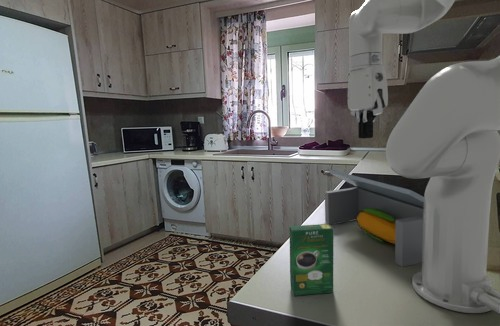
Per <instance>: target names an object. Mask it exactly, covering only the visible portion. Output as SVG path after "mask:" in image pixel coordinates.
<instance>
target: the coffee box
mask: <svg viewBox="0 0 500 326" xmlns="http://www.w3.org/2000/svg"><path fill="white" fill-rule="evenodd" d="M334 232H335V231H334V228H333V226H332V225H331V224H327V223H322V224H321V223H320V224H319V223H318V224H307V225H306V224H305V225H304V224H303V225H289V275H290V276H289V278H290V279H289V281H290V290H291V293H292V295H293V297H295V296H305V295H320V294H323V295H324V294H329V293H330V294H331V293H334Z"/></svg>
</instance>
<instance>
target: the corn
mask: <svg viewBox="0 0 500 326" xmlns="http://www.w3.org/2000/svg"><path fill="white" fill-rule="evenodd" d="M356 222H357V225H358V226H359V228H360V229H361V230H362V231H363V232H364V233H366V234H367V235H368V236H370V237H371V238H374V239H375V240H377V241H380V242H382V243H384V242H385V244H387V242H388V243H390V244H393V245H395V228H396V220H395V219H394V218H393V217H392V216H391V215H389V214H387V213H386V212H384V211H381V210H378V209H374V208H365V209H364V210H362V211H360V212H359V215H358V216H357V220H356Z"/></svg>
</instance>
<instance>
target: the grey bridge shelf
mask: <svg viewBox="0 0 500 326" xmlns="http://www.w3.org/2000/svg"><path fill="white" fill-rule="evenodd" d="M365 208H374V209H378V210H381V211H384V212H386V213H387V214H389V215H391V216H392V217H393V218H394V219H395V220H396V228H395V244H394V245H395V246H394V248H395V250H394V255H395V256H394V263H395V264H396V265H398V266H399V267H401V268H404V267H409V266H412V265H417V264H420V263H421V264H422V247H423V207H421V206H417V205H414V204H411V203H408V202H404V201H401V200H398V199H395V198H391V197H388V196H385V195H382V194H378V193H375V192H372V191H369V190H365V189H362V188H359V187H356V186H354V187H349V188H342V189H341V188H340V189H335V190H327V191H324V217H325V218H324V219H325V222H324V224H329V225H333V224H339V223H345V222H350V221H355V220H356V221H358V220H357V216H358V215H359V212H360V211H362V210H364V209H365Z"/></svg>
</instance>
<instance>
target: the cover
mask: <svg viewBox="0 0 500 326" xmlns="http://www.w3.org/2000/svg"><path fill="white" fill-rule="evenodd" d="M328 173H329V174H331V175H332V176H335V177H337V178H339V179H340V180H343V181H345V183H348V184H350V185H353V186H354V187H359V188H362V189H365V190H369V191H372V192H375V193H378V194H382V195H385V196H388V197H391V198H395V199H398V200H401V201H404V202H408V203H411V204H414V205H417V206H421V207H423V206H424V196H423V195H421V194H420V193H417V192H416V191H413V190H411V189H408V188H404V187H400V186H397V185H396V186H395V185H393V184H389V183H384V182H380V181H376V180H372V179H368V178H365V177H361V176H357V175H353V174H348V173H345V172H342V171H337V170H333V169H329V170H328Z"/></svg>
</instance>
